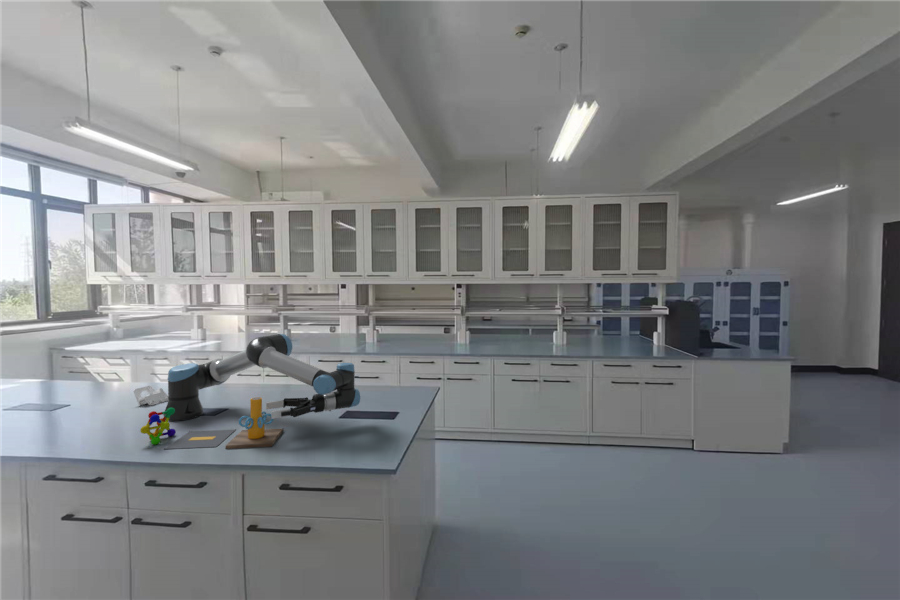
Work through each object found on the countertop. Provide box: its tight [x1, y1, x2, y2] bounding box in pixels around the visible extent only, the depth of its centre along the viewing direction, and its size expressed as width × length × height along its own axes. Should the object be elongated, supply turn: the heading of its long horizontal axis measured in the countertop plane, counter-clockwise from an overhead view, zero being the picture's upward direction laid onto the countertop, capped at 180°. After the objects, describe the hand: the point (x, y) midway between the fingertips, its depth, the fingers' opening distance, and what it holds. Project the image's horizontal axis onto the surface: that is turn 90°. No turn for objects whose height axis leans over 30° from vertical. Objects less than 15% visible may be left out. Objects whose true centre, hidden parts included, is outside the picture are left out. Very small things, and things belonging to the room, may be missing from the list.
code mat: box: [163, 429, 236, 450], centre depth 153 cm, size 18×18×1 cm
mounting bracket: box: [133, 385, 168, 407], centre depth 201 cm, size 12×6×11 cm, turn 168°
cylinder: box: [238, 396, 274, 439], centre depth 153 cm, size 12×10×15 cm
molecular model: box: [140, 408, 177, 445], centre depth 152 cm, size 12×7×12 cm, turn 179°
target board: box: [225, 428, 284, 450], centre depth 153 cm, size 16×16×1 cm
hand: (268, 410), depth 154 cm, fingers open, 13 cm apart
